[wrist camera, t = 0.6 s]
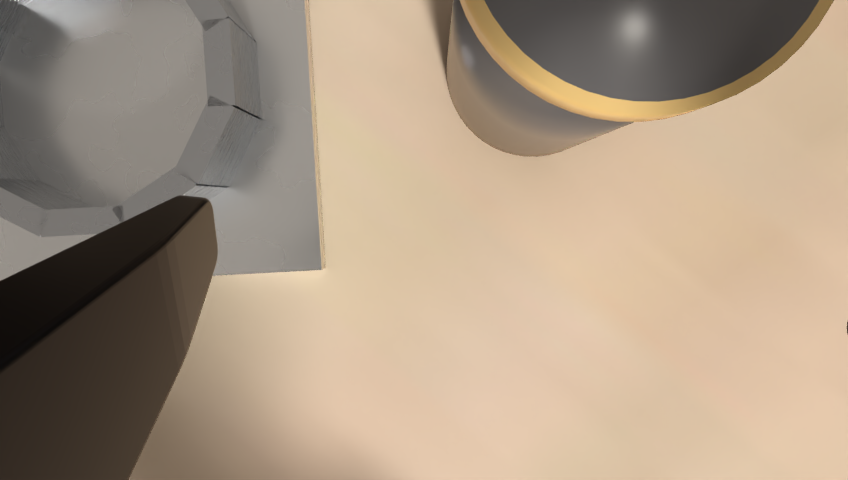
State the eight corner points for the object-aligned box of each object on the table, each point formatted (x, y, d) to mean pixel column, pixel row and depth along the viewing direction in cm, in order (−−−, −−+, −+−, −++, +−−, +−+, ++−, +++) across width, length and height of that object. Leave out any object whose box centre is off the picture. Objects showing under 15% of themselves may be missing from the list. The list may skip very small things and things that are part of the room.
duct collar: (325, 267, 23) (304, 280, 19) (-37, 286, 23) (-127, 302, 20) (301, -109, 23) (274, -172, 19) (-72, -86, 23) (-173, -143, 19)
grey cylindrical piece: (538, 199, 23) (662, 196, 11) (402, 77, 23) (366, -73, 10) (663, 62, 23) (944, -109, 10) (526, -64, 23) (642, -393, 10)
